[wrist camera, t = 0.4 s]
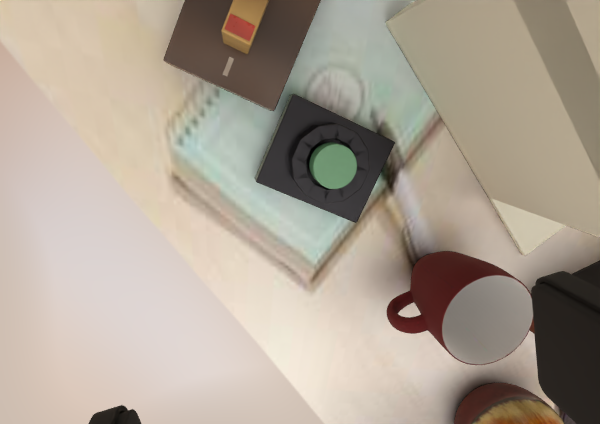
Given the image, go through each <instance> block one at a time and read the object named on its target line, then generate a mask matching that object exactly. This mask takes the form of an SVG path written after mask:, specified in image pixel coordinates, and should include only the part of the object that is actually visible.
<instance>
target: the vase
mask: <svg viewBox="0 0 600 424" xmlns="http://www.w3.org/2000/svg"><path fill="white" fill-rule="evenodd" d="M454 424H565V423H564V422H563V420H562V419H561V418H560V416H559V415H558V414H557V413H556V412H555V411H554V410H553V409H552V408H551V407H550V406H549V405H548V404H547V403H546V402H545V401H543V400H542V399H541V398H539V397H538V396H536V395H534V394H533V393H531V392H530V391H528V390H526V389H524V388H521V387H519V386H516V385H513V384H508V383H490V384H486V385H483V386H480V387H478V388H476V389H475V390H473V391H472V392H470V393H469V394H468V395H467V396H466V397H465V398H464V399H463V401H462V402H461V404H460V405H459V407H458V410H457V412H456V416H455V421H454Z"/></svg>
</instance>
